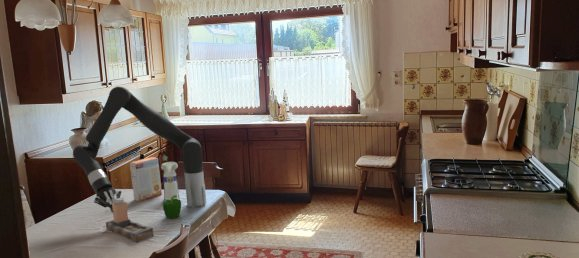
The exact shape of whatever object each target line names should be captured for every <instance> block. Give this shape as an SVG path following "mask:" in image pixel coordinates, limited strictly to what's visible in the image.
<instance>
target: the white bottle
mask: <svg viewBox="0 0 579 258" xmlns="http://www.w3.org/2000/svg"><path fill="white" fill-rule="evenodd" d="M161 158H162V161H163V163H162V164H161V166H160V169H161V170H162V171H163V174H162V177H163V193H164V194H163V197H164V198H163V199H164V202H165V201H166V200H171V198H172V197H173V196H175V195H176V196H177V197H175V198H173V199H178V200H180V195H179V184H178V180H177V173H176V170H177V169H178V166H179V165H178V163H177V162H176V161H168V158H169V157H168V156H166V154H164V155H163V156H162V157H161ZM164 161H166V162H164Z"/></svg>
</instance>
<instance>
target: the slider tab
mask: <svg viewBox="0 0 579 258" xmlns="http://www.w3.org/2000/svg"><path fill="white" fill-rule="evenodd" d="M112 208H113V213H112V215H113V220H114V221H112V224H114V225H116V226H119V227H123V226H126V225H129V224H130V218H129V215H128V207H127V201H125V199H124V198H123V197H120V198H117V199H116V198H115V199H114V204H112Z"/></svg>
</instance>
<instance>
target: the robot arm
mask: <svg viewBox="0 0 579 258" xmlns="http://www.w3.org/2000/svg"><path fill="white" fill-rule="evenodd" d="M122 108H123V109H124V110H125V111H127V112H128V113H130V114H132V116H134V117H135V118H136V119H137V120H138V121H139V122H140V123H141V124H142V125H143V126H144V127H146V128H147V129H148V130H149V131H150V132H153V134H155V135H157V136H159V137H160V138H163V139H165V140H167V141H169V142H170V143H172V144H174V145H176V147H177V148H179V149H180V150H181V151H182V154H181V155H182V163H183V172H184V184H185V194H186V195H185V196H186V205H187V207H190V208H199V207H203V206H206V204H207V198H206V197H207V195H206V193H207V192H206V184H205V178H204V177H205V176H204V163H203V152H202V150H203V149H202V145H201V142H200V141H199V140H197V139H196V138H194V137H192V136H190V135H189V134H187V133H185V132H184V131H183V130H181V129H180V128H179V127H178V126H177V125H176V124H174V123H173V122H172V121H171V120H169V119H168V118H167V117H166V116H164V115H163V114H161V113H160V112H159V111H157V110H155V109H154V108H152V107H151V106H149V105H147V104H145V103H144V102H142V101H141V100H139V99H138V98H137V97H136V96H135V95H134V94H133V93H131V91H129V89H127V88H126V87H124V86H114V87H113V88H112V89H111V90H110V91H109V93H108V97H107V99H106V102H105V103H104V107H103V108H102V110H101V112H100V113H99V115H98V116H97V118H96V120H95V121H94V123H93V124H92V126H91V128H89V131H88V133H87V134H86V136H85V140H86V141H87V146H85V145H76V146H75V147H74V149H73V150H72V157H73V159H74V160H75V162H76V163H77V164H78V166H80V168H82V170H83V171H84V173H85V175H86V176H87V179H88V181H89V184H90V185H91V188H92V189H93V191H94V194H95V195H96V197H95V198H94V200H93V203H95V204H97V205H99V206H100V207H103V208H105V209H106V208H109V209H110V211H111V213H112V214H113V208H112V204H114V199H117V198H121V195H122V191H121V190H116V189H115V188H114V187H113V185H112V183H111V181H110V179H109V177H108V175H107V174H106V172H105V171H104V169H103V168H102V165H101V164H100V163H99V162H98V161H97V160H95V159H96V158H97V156H98V153H99V149H100V146H101V143H102V142H103V140H104V138H105V137H106V134H107V133H108V131H109V130H110V127H111V125H112V123H113V120H115V117H117V115H118V113H119V111H121V109H122ZM115 197H116V198H115Z"/></svg>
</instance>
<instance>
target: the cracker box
mask: <svg viewBox="0 0 579 258" xmlns="http://www.w3.org/2000/svg"><path fill="white" fill-rule="evenodd" d="M129 166H130V167H129V168H130V175H131V183H132V192H133V193H132V194H133V200H134V201H137V202H143V201H145V200H148V199H151V198H154V197H158V196H161V195H163V193H162V183H161V173H160V165H159V158H158V157H154V156H151V157H147V158H142V159H139V160H134V161H130V162H129Z"/></svg>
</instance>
